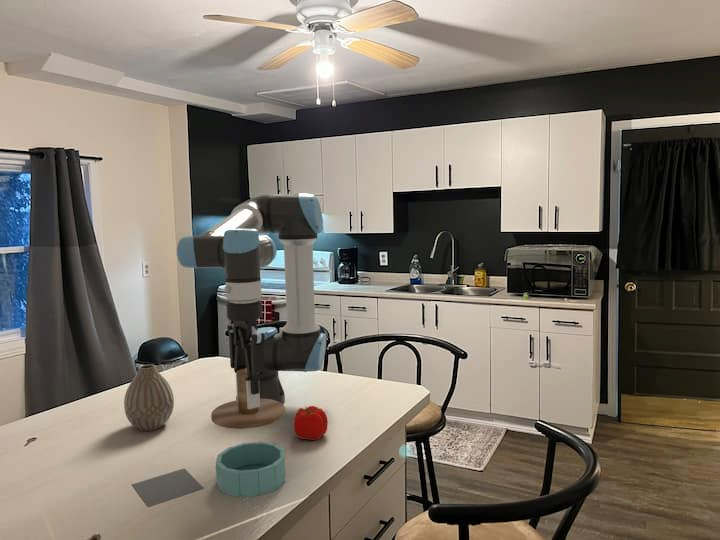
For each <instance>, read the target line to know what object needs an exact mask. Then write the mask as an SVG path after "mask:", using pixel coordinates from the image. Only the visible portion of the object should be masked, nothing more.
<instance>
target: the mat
mask: <svg viewBox="0 0 720 540" xmlns="http://www.w3.org/2000/svg"><path fill="white" fill-rule="evenodd" d="M131 486H132V488H133V489H134V491H135V492H136V493H137V495H138V496H139V497H140V498H141V500H142V502H143V503H144V505H146V507H147V508H151V507H153V506H156V505H159V504H162V503H165V502H168V501H171V500H174V499H177V498H180V497H183V496H186V495H189V494H192V493H195V492H198V491H201V490H205V488H204V487H203V486H202V485H201V483H199V482H198V480H197V479H195V477H194V476H193V475H191V473H190V472H189V471H188V470H187V469H186V468H180V469H178V470H173V471H171V472H168V473H165V474H161V475H158V476H154V477H151V478H149V479H144V480H141V481H138V482H136V483H132V484H131Z"/></svg>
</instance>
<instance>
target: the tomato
mask: <svg viewBox="0 0 720 540" xmlns="http://www.w3.org/2000/svg"><path fill="white" fill-rule="evenodd" d="M328 423H329V421H328V416H327V414H326V412H325V411H324V410H323V409H322V408H319V407H318V406H315V405H310V406H305V409H304V408H303V407H302V408H301V407H300V408H298V410H297V411H296V413H295V416H294V418H293V430H294V434H295V436H297V437H298V438H300V439H302V440H309V441H316V440H318V439H320V438H321V437H322V436H324V435H325V434H326V432H327V430H328Z"/></svg>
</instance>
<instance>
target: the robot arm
mask: <svg viewBox="0 0 720 540" xmlns="http://www.w3.org/2000/svg"><path fill="white" fill-rule="evenodd" d="M323 219H324V218H323V213H322V208H321V205H320V202H319V199H318V198H317V197H316V195H314V194H313V193H312V194H310V193H281V194H279V193H277V194H276V193H275V194H272V193H270V194H269V193H268V194H262V195H258V196H255V197H253V198H250V199H248V200H246V201H243V202H241V203H240V204H238V205H237V206H235V207H234V208H233V209H232V211H231V213H230V215H228V216H226V217H225V218H224V219H222V220H221V221H219V222H218V223H216V224H215V225H214V226H212V227H211V228H209V229H208V230H206V231H205V232H204V233H202V234H200V235H188V236H183V237H181V238H180V239H179V241H178V243H177V247H176V256H177V259H178V262H179V264H180V265H181V266H182V267H184V268H187V269H190V268H191V269H224V275H225V276H224V281H225V287H223V290H224V292H225V296H226V297H225V299H226V300H228V301H227V303H226V305H225V306H226V318H227V319H228V320H230V321H232V324H228V325H227V333H228V343H229V345H228V346H229V361H230V362H229V363H230V368H231V369H233V370H234V371H233V372H234V374H235V383H236V384H235V385H236V389H237V371H238V370H241V369H246V368H247V374H248V378H245V380H246V390H247V409H253V408H256V407H260V398H264V399H271V400H275V401H278V402H280V403H282V404H283V405H284V403H285V402H286V394H285V391H284V388H283V385H282V382H281V379H280V376H279V372H304V373H307V372H308V373H309V372H318V371H319V370H320V369H321V368H322V366H323V363H324V360H325V355H326V349H327V335H326V334H325V333H324V332H321V326H320V325H319V324H318V323H317V322H316V318H315V317H316V314H315V313H316V311H315V280H314V278H315V277H314V250H313V249H314V247H313V245H314V243H315V242H316V241H317V240H318V234H321V233H322V232H323V228H324V226H323V225H324V220H323ZM266 234H278V236H277V237H278V241H279V242H280V243H281V244H282V245H283V254H284V276H285V277H284V280H285V281H284V282H285V283H284V285H285V306H286V308H285V309H286V310H285V311H286V313H285V314H286V324H285V325H284V326H283V327H282V328H281V331H282V332H278V330H277V328H276V327H272V326H267V327H265V326H264V327H259V328H258V323H257V320H258V319H260V318H262V316H263V305H262V303H263V302H262V301H261V300H260V299H261V298H262V279H261V268H265V267H267V266H268V265H269V264H271V263H272V262H273V261H274V260H275V258H276V256H277V252H278V251H277V249H278V248H277V245H276V243H275V241H274V239H272V238H271V237H270V236H268V235H266ZM236 400H237V402H238V392H237V391H236V396H235V401H236Z"/></svg>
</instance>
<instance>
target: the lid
mask: <svg viewBox="0 0 720 540" xmlns="http://www.w3.org/2000/svg"><path fill="white" fill-rule="evenodd" d="M245 378H248V374H247V368H246V369H241V370H238V371H237V388H236V393H237V392H238V402H237V400H236V399H235V400H232V401H228V402H225V403H223V404H221V405H219V406H217V407H215V408H214V409H213V410H212V411H211V414H210V417H211V421H212V422H213V423H214V425H217V426H218V427H223V428H225V429H236V430H237V429H243V430H244V429H253V428H260V427H265V426H268V425H269V424H270V425H271V424H273V423H275V422H278V421H279V420H280V419H283V417H284V416H285V414H286V406H285V405H284V403H283V404H282V403H280V402H278V401H275V400H271V399H264V398H260V407H256V408H253V409H247V390H246V380H245Z"/></svg>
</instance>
